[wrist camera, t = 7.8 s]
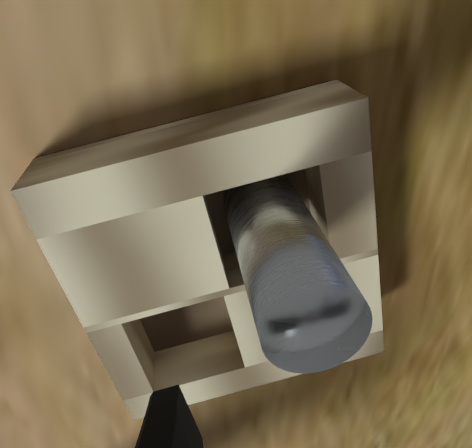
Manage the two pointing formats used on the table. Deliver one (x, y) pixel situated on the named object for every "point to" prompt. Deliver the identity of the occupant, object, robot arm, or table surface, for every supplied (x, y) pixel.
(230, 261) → the socket block
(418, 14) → the table surface
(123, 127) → the table surface
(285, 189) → the pin
